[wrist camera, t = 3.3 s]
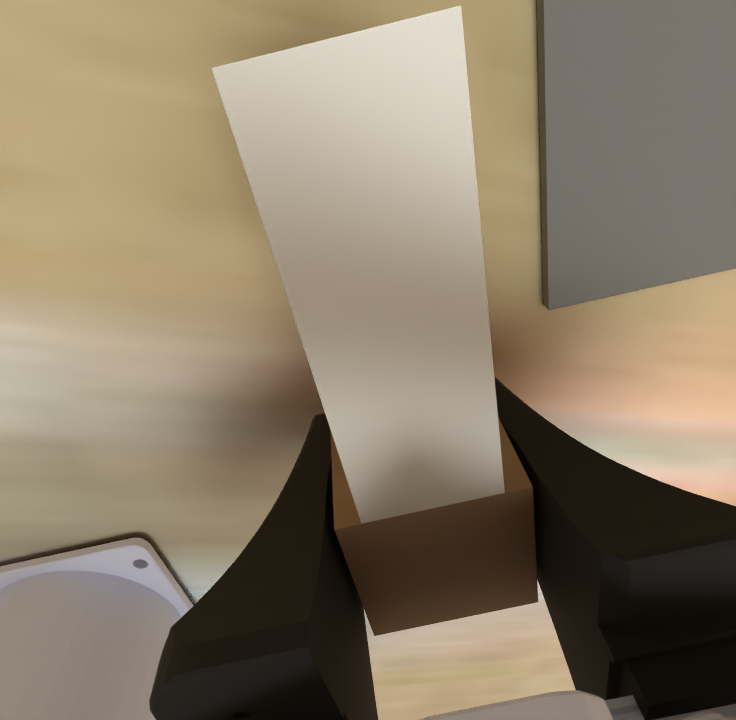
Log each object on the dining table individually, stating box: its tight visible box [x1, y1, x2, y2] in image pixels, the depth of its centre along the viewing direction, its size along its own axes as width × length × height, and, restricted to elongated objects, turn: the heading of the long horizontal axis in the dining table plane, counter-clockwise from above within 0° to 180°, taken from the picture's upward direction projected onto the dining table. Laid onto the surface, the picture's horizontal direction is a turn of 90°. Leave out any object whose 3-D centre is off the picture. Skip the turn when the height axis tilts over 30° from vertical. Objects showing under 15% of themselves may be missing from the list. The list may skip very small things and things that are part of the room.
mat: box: [537, 0, 736, 310], centre depth 12 cm, size 9×6×1 cm, turn 12°
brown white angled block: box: [212, 6, 538, 636], centre depth 11 cm, size 11×4×6 cm, turn 12°
